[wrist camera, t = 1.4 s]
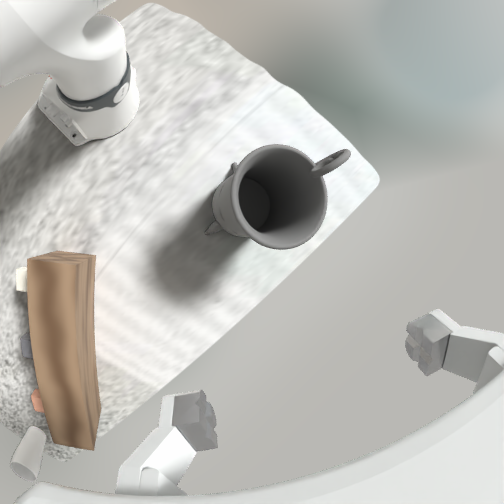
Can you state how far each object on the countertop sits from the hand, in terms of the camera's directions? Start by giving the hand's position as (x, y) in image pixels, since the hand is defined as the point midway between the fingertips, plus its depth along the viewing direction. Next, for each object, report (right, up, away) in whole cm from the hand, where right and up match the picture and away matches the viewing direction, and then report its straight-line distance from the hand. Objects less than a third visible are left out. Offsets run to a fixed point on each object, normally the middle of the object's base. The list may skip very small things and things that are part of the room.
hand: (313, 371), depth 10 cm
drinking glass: (-53, -39, +32) cm, 73 cm away
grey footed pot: (-4, +14, +45) cm, 47 cm away
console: (-36, -12, +36) cm, 52 cm away
